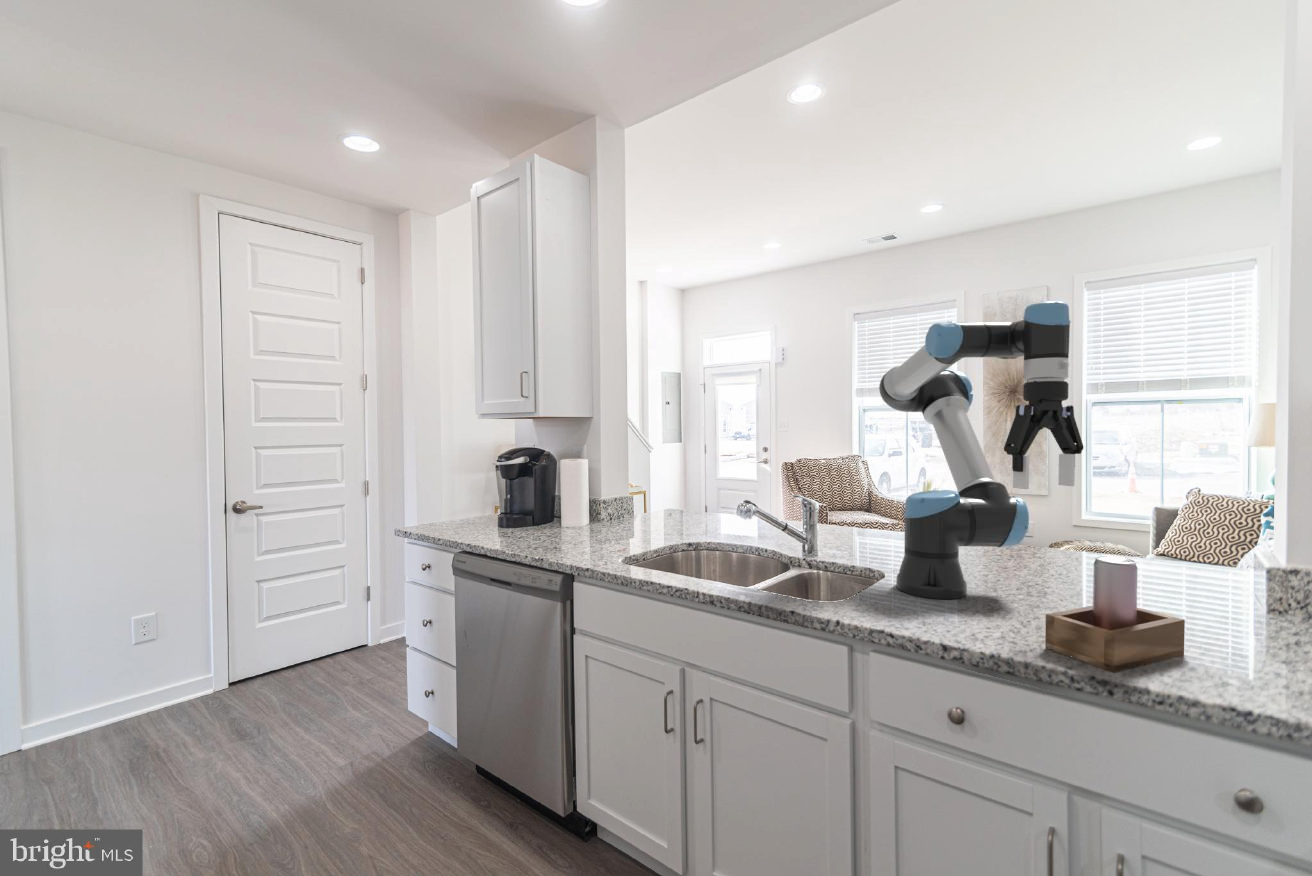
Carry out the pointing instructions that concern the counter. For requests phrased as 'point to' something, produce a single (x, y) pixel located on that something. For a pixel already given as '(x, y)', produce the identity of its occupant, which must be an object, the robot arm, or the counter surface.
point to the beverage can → (1114, 592)
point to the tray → (1115, 639)
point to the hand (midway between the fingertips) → (1044, 487)
